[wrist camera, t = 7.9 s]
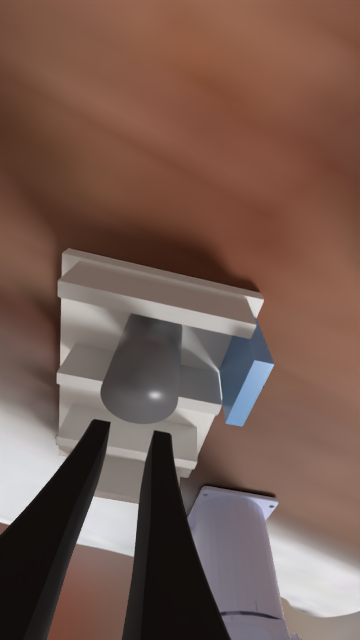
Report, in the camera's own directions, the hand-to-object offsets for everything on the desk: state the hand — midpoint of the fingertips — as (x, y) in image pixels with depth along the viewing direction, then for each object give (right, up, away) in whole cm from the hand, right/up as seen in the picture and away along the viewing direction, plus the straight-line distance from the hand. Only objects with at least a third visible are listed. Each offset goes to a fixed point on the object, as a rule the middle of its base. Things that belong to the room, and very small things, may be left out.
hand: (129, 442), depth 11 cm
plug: (0, +4, +7) cm, 8 cm away
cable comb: (-1, 0, +11) cm, 11 cm away
